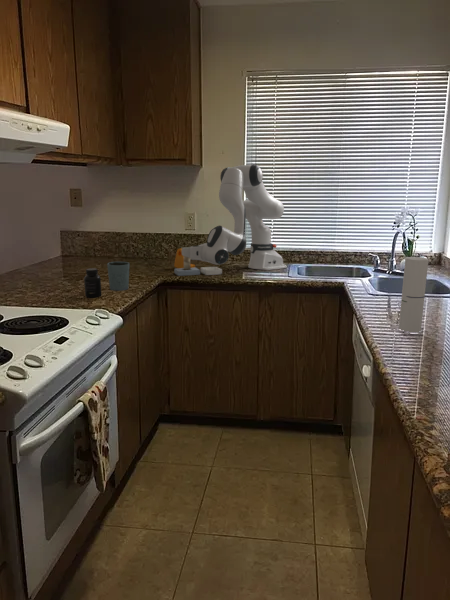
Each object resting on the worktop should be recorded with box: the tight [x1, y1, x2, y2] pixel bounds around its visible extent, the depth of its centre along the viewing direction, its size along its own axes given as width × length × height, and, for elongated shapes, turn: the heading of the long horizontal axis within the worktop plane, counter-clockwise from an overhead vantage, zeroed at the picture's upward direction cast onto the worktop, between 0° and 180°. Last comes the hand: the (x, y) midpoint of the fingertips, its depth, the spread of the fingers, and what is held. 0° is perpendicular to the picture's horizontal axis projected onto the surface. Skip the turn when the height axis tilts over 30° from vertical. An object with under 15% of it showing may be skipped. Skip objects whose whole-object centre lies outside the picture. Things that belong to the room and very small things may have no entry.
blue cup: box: [106, 261, 130, 292], centre depth 228 cm, size 10×10×12 cm
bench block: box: [173, 266, 201, 277], centre depth 266 cm, size 12×8×2 cm, turn 110°
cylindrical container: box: [398, 256, 429, 332], centre depth 165 cm, size 7×7×25 cm
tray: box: [200, 266, 223, 276], centre depth 269 cm, size 9×9×3 cm
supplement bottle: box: [83, 267, 103, 299], centre depth 212 cm, size 7×7×12 cm
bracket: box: [173, 247, 196, 269], centre depth 280 cm, size 11×7×12 cm, turn 40°
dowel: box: [184, 256, 191, 270], centre depth 265 cm, size 4×4×14 cm
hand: (195, 249), depth 252 cm, fingers open, 8 cm apart
